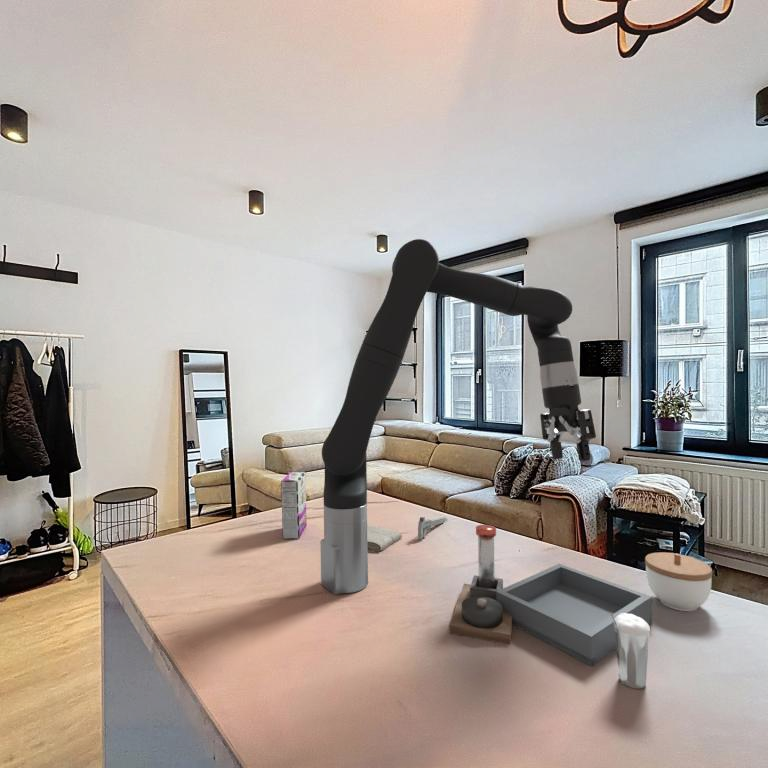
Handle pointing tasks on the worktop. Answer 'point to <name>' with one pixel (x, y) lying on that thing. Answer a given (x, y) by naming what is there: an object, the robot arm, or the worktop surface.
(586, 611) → the tray
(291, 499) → the candy bar box
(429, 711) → the worktop surface
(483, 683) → the worktop surface
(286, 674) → the worktop surface
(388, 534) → the washcloth
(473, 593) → the wooden stand
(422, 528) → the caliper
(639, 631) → the milkshake
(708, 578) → the lidded jar
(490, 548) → the pin
